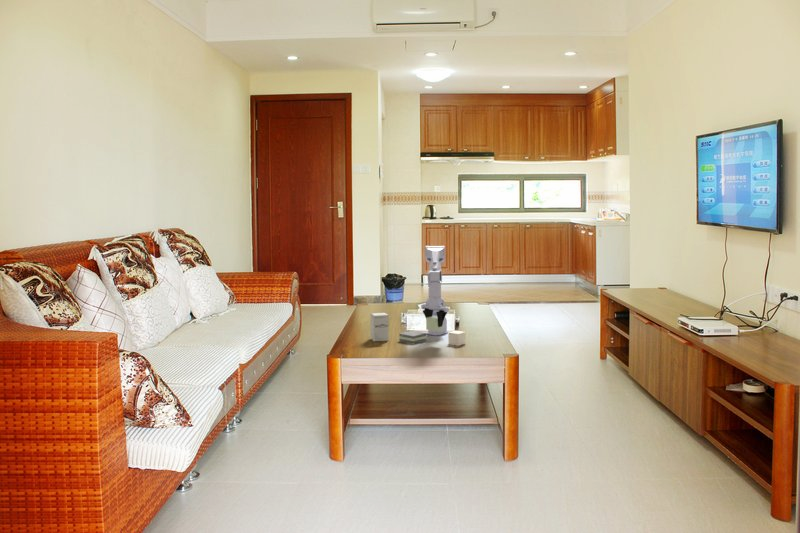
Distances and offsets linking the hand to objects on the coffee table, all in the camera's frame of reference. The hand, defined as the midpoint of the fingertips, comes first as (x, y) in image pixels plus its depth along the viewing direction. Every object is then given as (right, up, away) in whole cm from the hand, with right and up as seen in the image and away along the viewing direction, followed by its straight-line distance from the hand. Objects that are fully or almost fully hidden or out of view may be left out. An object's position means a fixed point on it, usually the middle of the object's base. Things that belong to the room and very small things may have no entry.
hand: (434, 325), depth 313 cm
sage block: (0, -2, 0) cm, 2 cm away
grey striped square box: (-10, -8, +10) cm, 16 cm away
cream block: (+10, -9, +3) cm, 14 cm away
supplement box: (-26, -8, +13) cm, 30 cm away
